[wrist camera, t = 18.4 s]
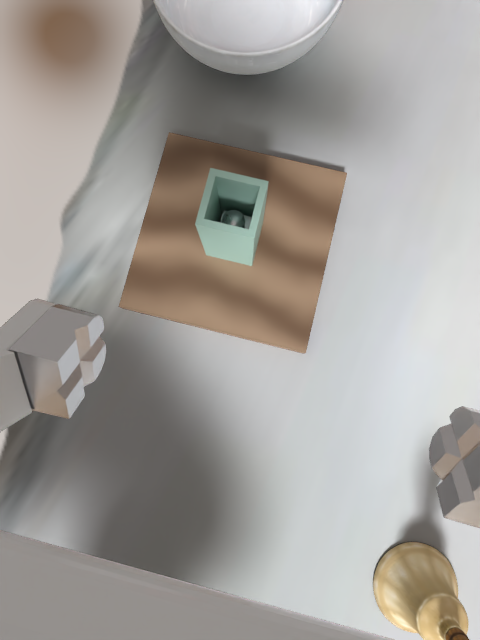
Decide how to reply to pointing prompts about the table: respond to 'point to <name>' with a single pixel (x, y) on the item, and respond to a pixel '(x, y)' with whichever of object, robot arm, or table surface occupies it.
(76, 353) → the robot arm
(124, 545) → the table surface
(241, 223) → the post
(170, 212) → the board
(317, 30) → the serving bowl
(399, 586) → the hand bell
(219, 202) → the sleeve
